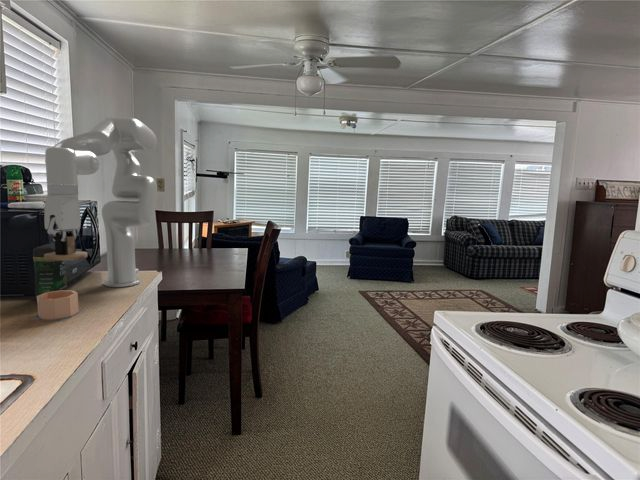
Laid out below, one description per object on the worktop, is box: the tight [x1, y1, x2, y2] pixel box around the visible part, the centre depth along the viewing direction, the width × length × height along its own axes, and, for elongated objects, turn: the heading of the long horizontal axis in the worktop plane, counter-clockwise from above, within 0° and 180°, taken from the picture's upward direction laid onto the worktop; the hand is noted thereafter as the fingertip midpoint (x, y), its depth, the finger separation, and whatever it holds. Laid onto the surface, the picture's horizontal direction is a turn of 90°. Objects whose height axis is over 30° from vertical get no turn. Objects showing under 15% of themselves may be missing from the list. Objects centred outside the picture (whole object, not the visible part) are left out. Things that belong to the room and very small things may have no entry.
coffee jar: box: [32, 242, 69, 302], centre depth 130 cm, size 10×8×19 cm
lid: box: [44, 236, 88, 262], centre depth 118 cm, size 11×11×6 cm
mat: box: [29, 309, 86, 322], centre depth 117 cm, size 10×10×1 cm
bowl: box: [36, 289, 79, 320], centre depth 116 cm, size 9×9×6 cm
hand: (65, 253), depth 118 cm, fingers closed on lid, 3 cm apart
